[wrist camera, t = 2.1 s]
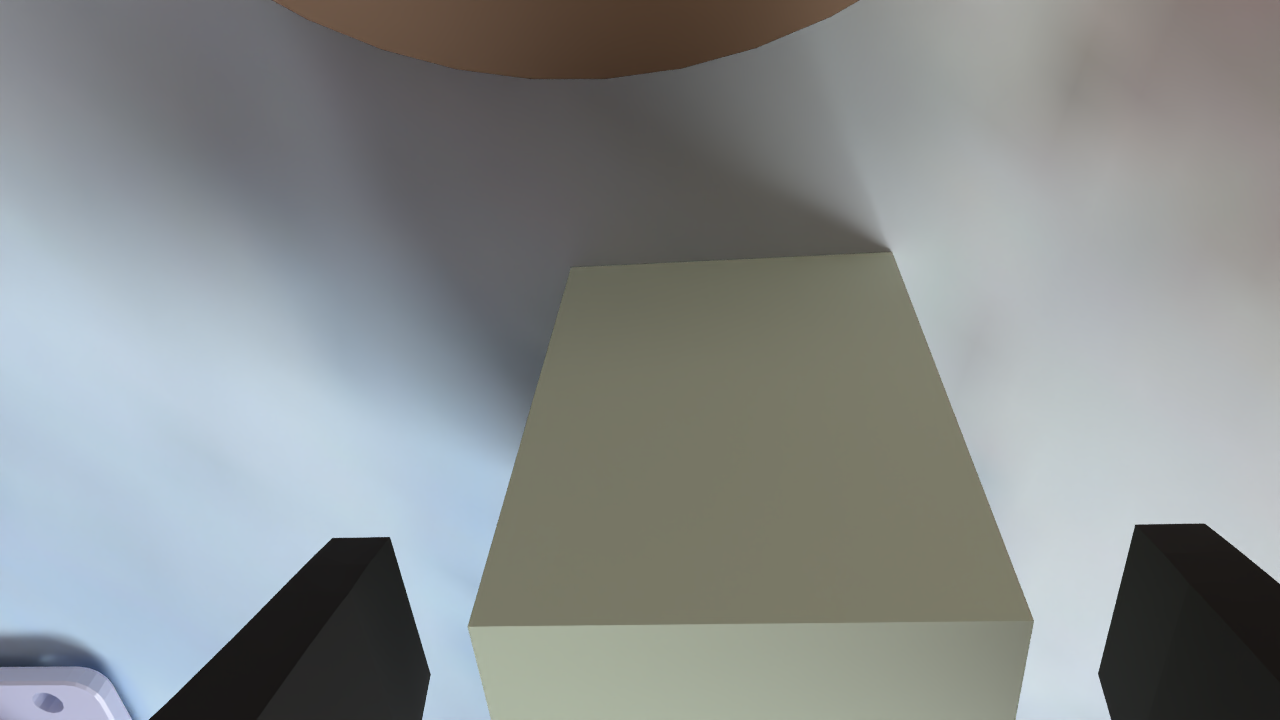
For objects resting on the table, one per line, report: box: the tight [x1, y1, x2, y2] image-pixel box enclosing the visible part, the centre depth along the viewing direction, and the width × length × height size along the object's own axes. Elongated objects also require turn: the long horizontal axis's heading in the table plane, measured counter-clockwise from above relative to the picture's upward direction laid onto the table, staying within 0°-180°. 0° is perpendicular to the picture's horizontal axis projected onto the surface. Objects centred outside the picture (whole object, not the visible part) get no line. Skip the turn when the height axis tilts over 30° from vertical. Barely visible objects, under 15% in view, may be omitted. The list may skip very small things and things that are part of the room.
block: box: [468, 252, 1034, 720], centre depth 10 cm, size 4×4×6 cm
